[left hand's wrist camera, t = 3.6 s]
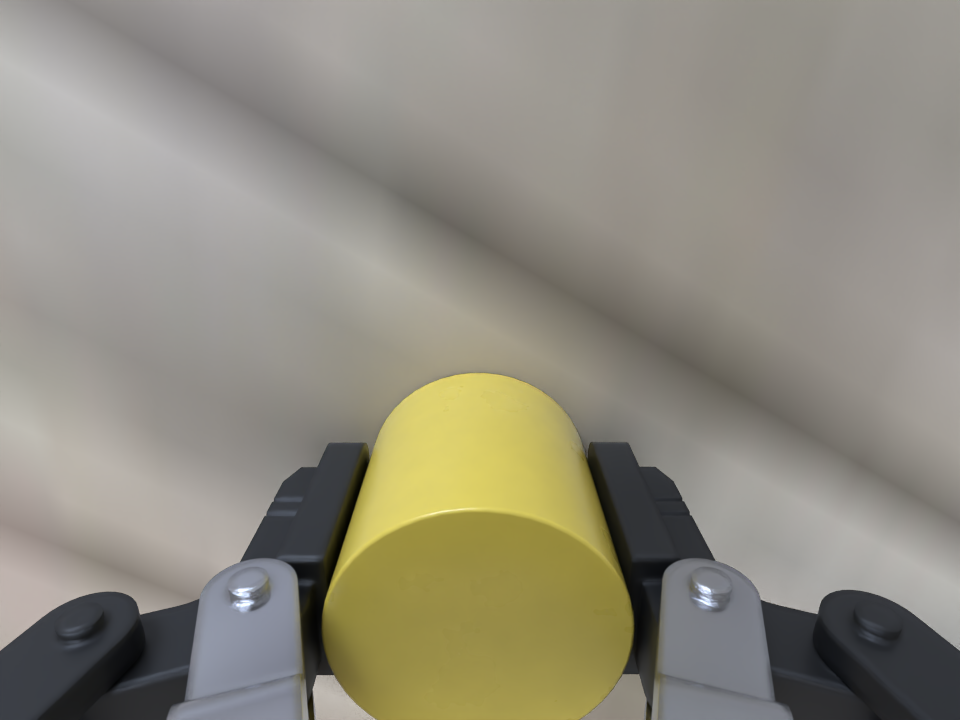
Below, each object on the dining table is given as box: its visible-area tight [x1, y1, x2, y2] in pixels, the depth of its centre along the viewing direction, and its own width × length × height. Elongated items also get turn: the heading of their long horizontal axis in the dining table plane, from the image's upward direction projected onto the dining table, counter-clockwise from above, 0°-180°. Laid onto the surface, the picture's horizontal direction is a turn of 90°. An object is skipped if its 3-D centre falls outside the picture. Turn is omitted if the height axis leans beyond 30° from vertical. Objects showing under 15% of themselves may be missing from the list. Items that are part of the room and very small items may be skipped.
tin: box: [321, 373, 635, 720], centre depth 11 cm, size 4×4×5 cm
